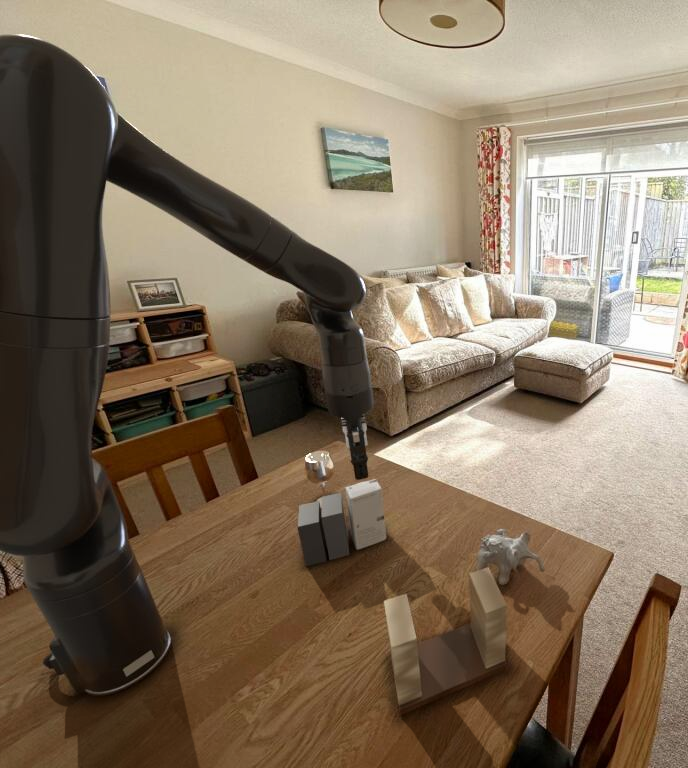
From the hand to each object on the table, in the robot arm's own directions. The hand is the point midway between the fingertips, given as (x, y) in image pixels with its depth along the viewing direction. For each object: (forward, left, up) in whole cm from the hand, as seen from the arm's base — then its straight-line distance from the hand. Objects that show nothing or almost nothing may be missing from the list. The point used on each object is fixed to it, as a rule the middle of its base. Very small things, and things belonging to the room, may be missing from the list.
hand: (360, 465), depth 75 cm
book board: (+8, -30, -17) cm, 36 cm away
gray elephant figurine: (+23, -18, -18) cm, 34 cm away
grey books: (-8, 0, -17) cm, 19 cm away
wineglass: (-8, +16, -17) cm, 25 cm away
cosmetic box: (0, 0, -17) cm, 17 cm away
